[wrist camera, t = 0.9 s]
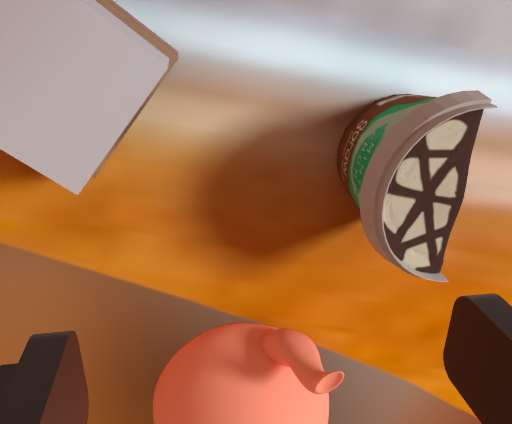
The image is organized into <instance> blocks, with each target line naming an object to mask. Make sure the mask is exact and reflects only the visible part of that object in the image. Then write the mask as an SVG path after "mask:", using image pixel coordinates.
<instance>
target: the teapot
mask: <svg viewBox="0 0 512 424" xmlns="http://www.w3.org/2000/svg"><path fill="white" fill-rule="evenodd" d="M343 378H344V374H343V372H341V371H333V372H327V373H326V372H325V371H324V370H323V367H322V364H321V360H320V356H319V352H318V349H317V348H316V346H315V344H314V343H313V341H312V340H311V339H310V338H309V337H307V336H306V335H304V334H303V333H301V332H298V331H296V330H291V329H279V328H276V327H272V326H268V325H263V324H257V323H232V324H227V325H222V326H219V327H216V328H213V329H211V330H208V331H206V332H204V333H202V334H200V335H199V336H197V337H195V338H194V339H192V340H191V341H190V342H188V343H187V344H186V345H184V346H183V347H182V348H181V349H180V350H179V351H178V352H177V353H176V354H175V355H174V356H173V357H172V358H171V359H170V361H169V362H168V363H167V365H166V366H165V368H164V370H163V371H162V373H161V375H160V377H159V380H158V382H157V384H156V388H155V391H154V397H153V420H154V424H328V418H329V395H328V392H330V391H332V390H333V389H334V388H336V387H337V386H338V385H339V384H340V383H341V382H342V380H343Z"/></svg>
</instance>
